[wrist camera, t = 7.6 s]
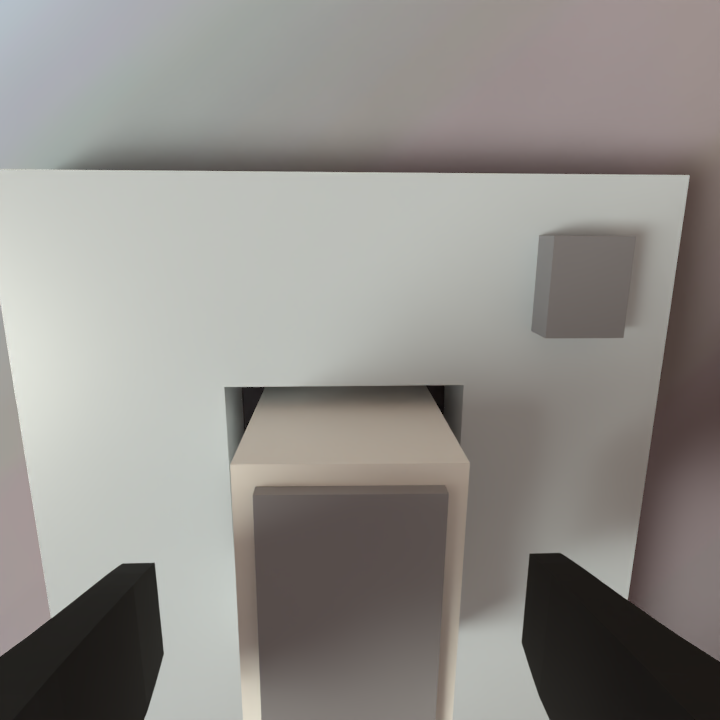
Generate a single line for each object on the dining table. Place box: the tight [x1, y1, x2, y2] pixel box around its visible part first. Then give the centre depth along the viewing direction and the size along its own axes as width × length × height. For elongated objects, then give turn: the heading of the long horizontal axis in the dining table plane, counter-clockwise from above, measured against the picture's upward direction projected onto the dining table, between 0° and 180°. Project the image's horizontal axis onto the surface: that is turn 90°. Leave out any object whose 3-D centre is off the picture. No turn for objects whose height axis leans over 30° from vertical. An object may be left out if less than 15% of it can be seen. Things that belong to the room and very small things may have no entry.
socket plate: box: [0, 169, 690, 720], centre depth 13 cm, size 16×14×3 cm
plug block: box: [230, 385, 470, 720], centre depth 12 cm, size 6×4×5 cm, turn 179°
